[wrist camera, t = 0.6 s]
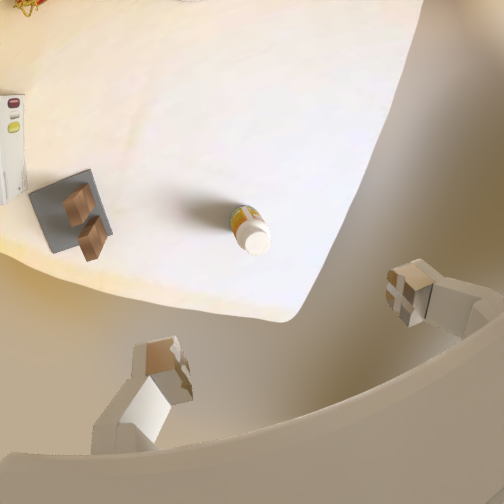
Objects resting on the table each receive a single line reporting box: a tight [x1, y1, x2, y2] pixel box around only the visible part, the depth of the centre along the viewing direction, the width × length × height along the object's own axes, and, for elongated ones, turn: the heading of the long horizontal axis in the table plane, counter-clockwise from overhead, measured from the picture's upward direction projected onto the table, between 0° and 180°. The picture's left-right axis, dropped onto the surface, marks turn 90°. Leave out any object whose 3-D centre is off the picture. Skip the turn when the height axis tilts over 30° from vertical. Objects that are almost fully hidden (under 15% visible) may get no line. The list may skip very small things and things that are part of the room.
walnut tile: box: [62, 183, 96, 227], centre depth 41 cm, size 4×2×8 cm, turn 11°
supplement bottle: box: [230, 206, 271, 256], centre depth 50 cm, size 5×5×10 cm
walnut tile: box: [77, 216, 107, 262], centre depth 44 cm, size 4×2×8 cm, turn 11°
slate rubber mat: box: [29, 169, 113, 254], centre depth 45 cm, size 12×13×1 cm
